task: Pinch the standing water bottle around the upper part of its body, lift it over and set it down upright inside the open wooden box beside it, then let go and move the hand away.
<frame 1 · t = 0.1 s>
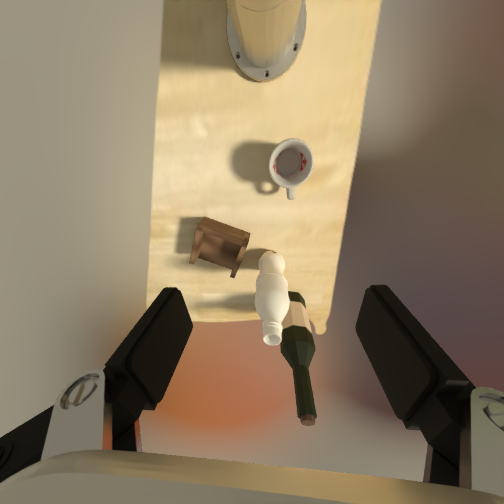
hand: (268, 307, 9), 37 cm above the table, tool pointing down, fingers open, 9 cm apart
open wooden box: (222, 244, 50), on the table
cup: (287, 169, 39), on the table
wine bottle: (290, 300, 58), on the table
water bottle: (271, 258, 51), on the table
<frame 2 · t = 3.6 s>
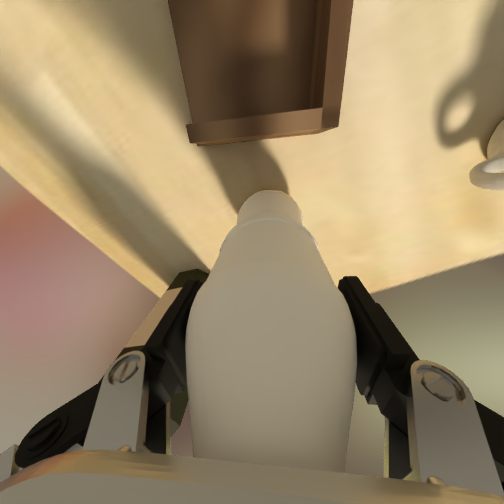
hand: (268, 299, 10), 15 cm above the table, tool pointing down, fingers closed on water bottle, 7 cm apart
open wooden box: (252, 57, 16), on the table
cup: (500, 143, 17), on the table
wine bottle: (199, 288, 30), on the table
water bottle: (269, 214, 23), on the table, touching gripper
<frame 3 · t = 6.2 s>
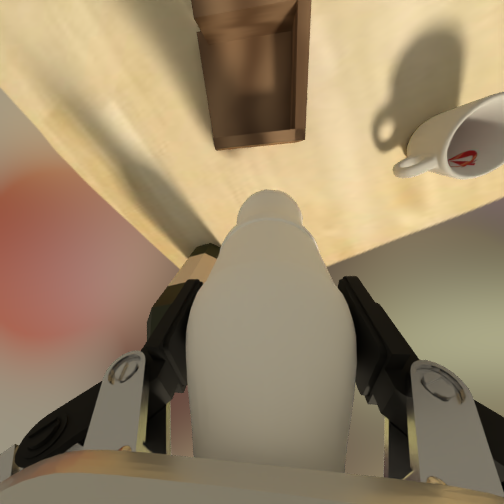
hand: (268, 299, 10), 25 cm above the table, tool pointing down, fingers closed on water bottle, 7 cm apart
open wooden box: (253, 94, 25), on the table
cup: (416, 149, 27), on the table
wine bottle: (211, 260, 39), on the table
water bottle: (269, 214, 23), point 10 cm above the table, touching gripper
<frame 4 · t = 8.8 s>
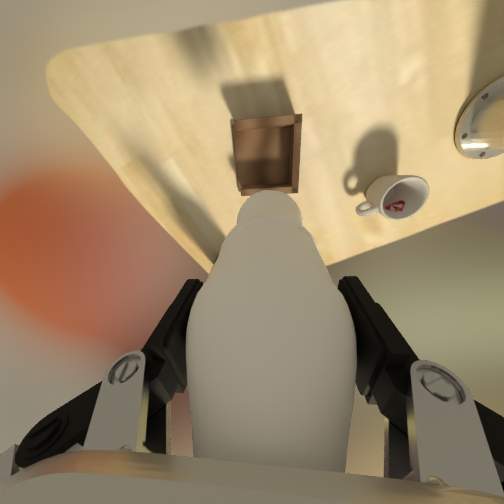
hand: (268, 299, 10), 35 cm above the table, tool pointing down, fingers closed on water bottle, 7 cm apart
open wooden box: (265, 158, 38), on the table
cup: (372, 194, 40), on the table
water bottle: (269, 214, 23), point 20 cm above the table, touching gripper
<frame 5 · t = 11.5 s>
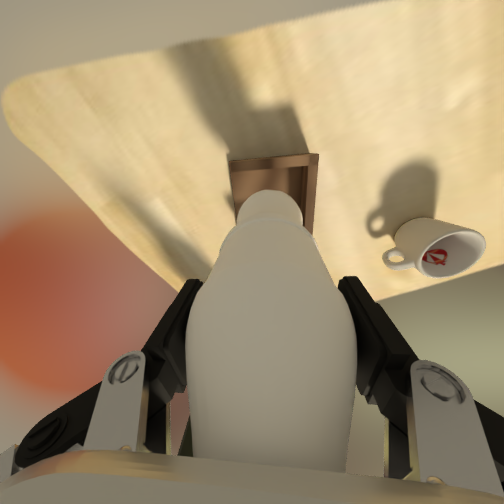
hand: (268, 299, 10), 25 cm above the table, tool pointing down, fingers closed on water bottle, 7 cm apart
open wooden box: (270, 197, 31), on the table
cup: (402, 236, 33), on the table
wine bottle: (229, 306, 45), on the table
water bottle: (269, 214, 23), point 10 cm above the table, touching gripper
when the fingers open (18 cm above the table, at t = 13.8 s): water bottle drops 2 cm, resting on open wooden box.
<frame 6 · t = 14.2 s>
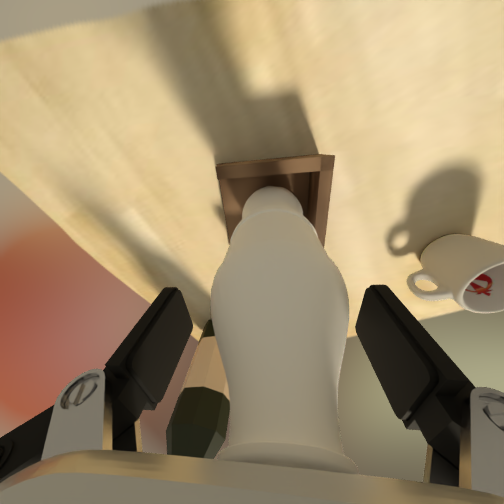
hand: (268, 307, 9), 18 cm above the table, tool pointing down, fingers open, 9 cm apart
open wooden box: (269, 208, 25), on the table
cup: (429, 255, 27), on the table
wine bottle: (222, 329, 39), on the table
water bottle: (271, 209, 24), point 1 cm above the table, touching open wooden box
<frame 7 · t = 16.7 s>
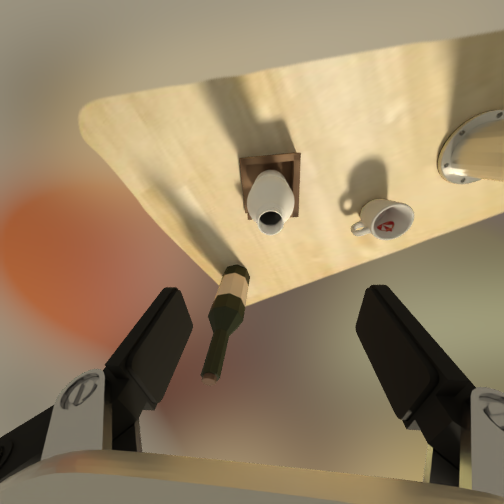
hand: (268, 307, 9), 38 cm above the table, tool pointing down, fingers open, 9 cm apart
open wooden box: (268, 184, 43), on the table
cup: (366, 214, 44), on the table
wine bottle: (236, 275, 57), on the table
water bottle: (270, 185, 42), point 1 cm above the table, touching open wooden box
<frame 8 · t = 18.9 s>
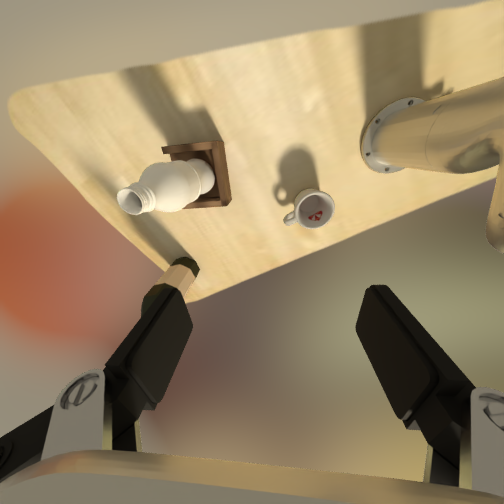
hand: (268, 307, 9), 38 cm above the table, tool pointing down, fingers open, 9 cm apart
open wooden box: (202, 175, 43), on the table
cup: (302, 204, 44), on the table
wine bottle: (187, 267, 57), on the table
water bottle: (202, 175, 42), point 1 cm above the table, touching open wooden box
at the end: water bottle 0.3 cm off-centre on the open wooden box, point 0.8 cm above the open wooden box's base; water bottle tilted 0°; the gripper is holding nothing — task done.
